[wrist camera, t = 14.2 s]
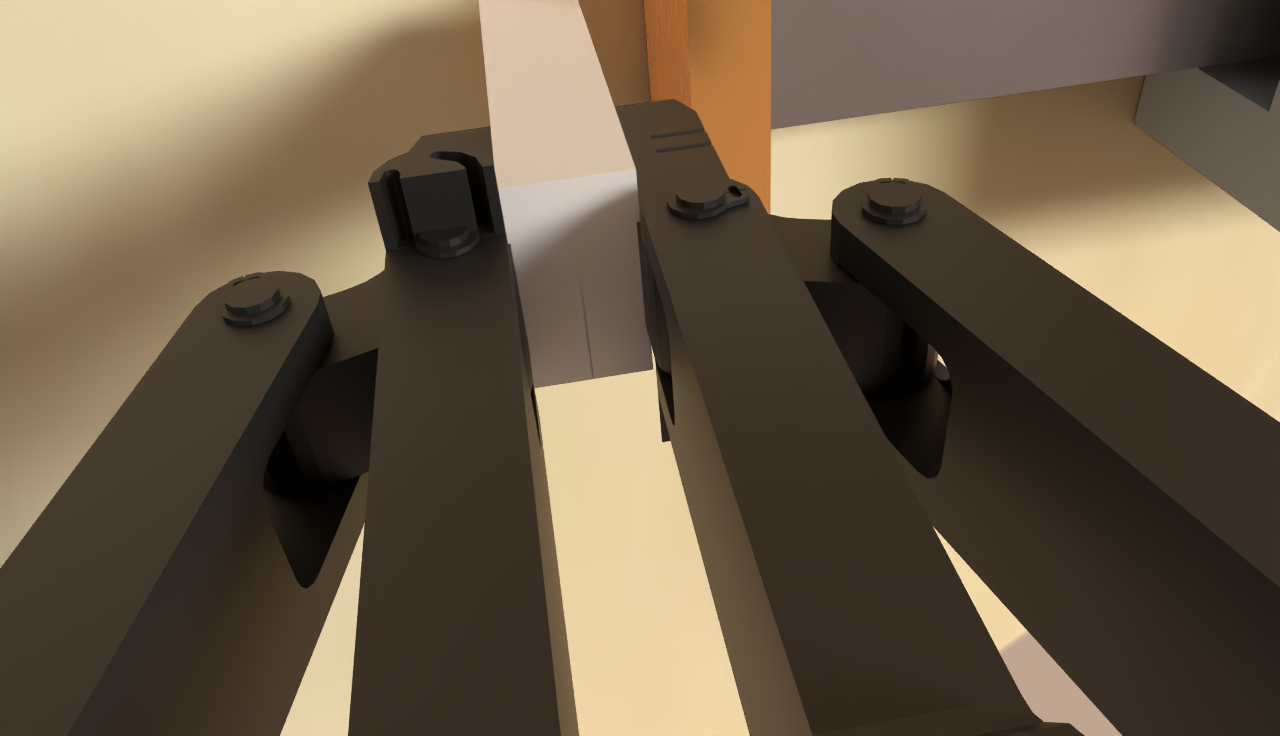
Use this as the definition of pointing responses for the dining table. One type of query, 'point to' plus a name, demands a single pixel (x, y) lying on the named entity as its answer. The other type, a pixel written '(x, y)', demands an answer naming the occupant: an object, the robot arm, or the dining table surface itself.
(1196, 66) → the lock pin
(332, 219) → the dining table surface
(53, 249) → the dining table surface
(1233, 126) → the dock block
